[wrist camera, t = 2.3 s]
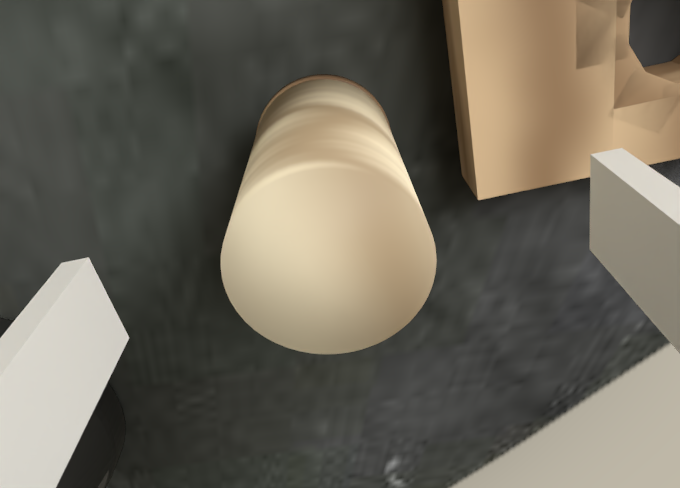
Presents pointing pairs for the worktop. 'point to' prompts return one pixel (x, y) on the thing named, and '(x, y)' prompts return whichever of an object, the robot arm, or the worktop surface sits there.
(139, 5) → the worktop surface
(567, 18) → the board
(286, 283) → the peg
